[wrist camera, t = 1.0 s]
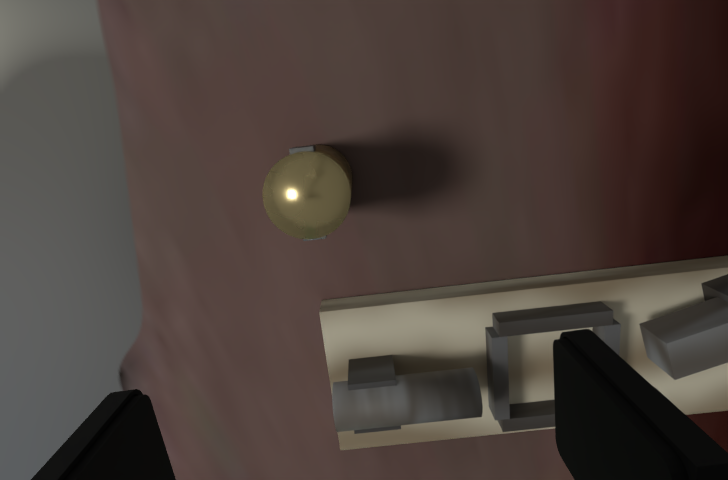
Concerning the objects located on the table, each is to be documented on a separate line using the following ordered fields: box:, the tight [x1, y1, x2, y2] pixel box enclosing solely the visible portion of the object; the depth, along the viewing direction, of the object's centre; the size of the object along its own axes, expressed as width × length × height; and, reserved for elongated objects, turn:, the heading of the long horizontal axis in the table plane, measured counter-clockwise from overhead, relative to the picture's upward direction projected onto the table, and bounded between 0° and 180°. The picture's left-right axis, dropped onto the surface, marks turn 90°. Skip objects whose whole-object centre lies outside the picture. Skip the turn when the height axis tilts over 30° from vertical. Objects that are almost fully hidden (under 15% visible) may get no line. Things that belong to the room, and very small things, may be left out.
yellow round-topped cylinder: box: [263, 144, 353, 241], centre depth 25 cm, size 5×4×7 cm
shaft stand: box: [319, 256, 728, 450], centre depth 29 cm, size 11×30×6 cm, turn 96°
